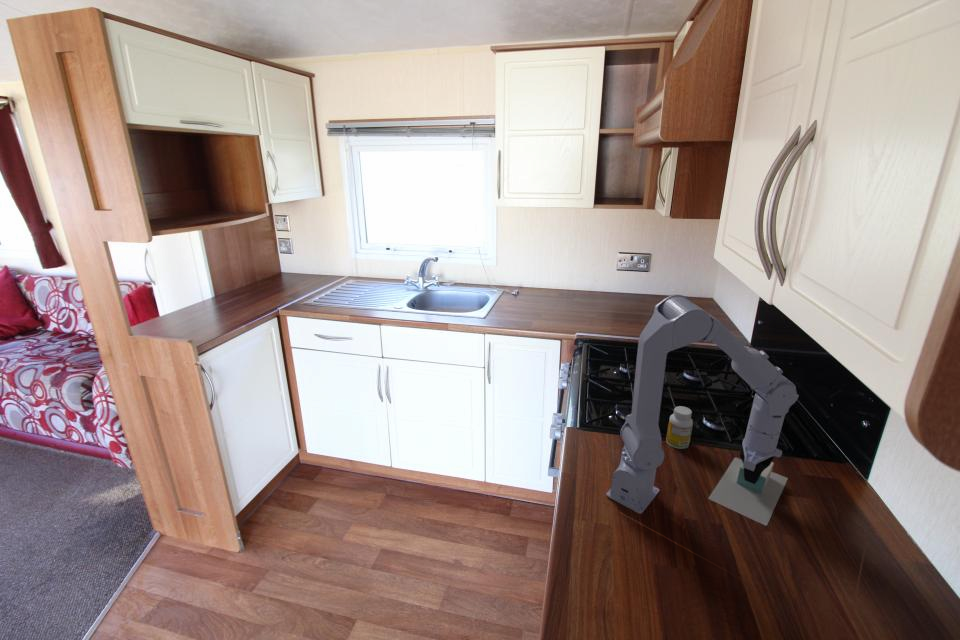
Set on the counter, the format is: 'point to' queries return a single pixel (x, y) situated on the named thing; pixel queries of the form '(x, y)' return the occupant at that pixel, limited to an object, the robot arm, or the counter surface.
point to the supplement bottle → (680, 428)
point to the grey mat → (748, 494)
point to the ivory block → (761, 481)
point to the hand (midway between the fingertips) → (750, 480)
